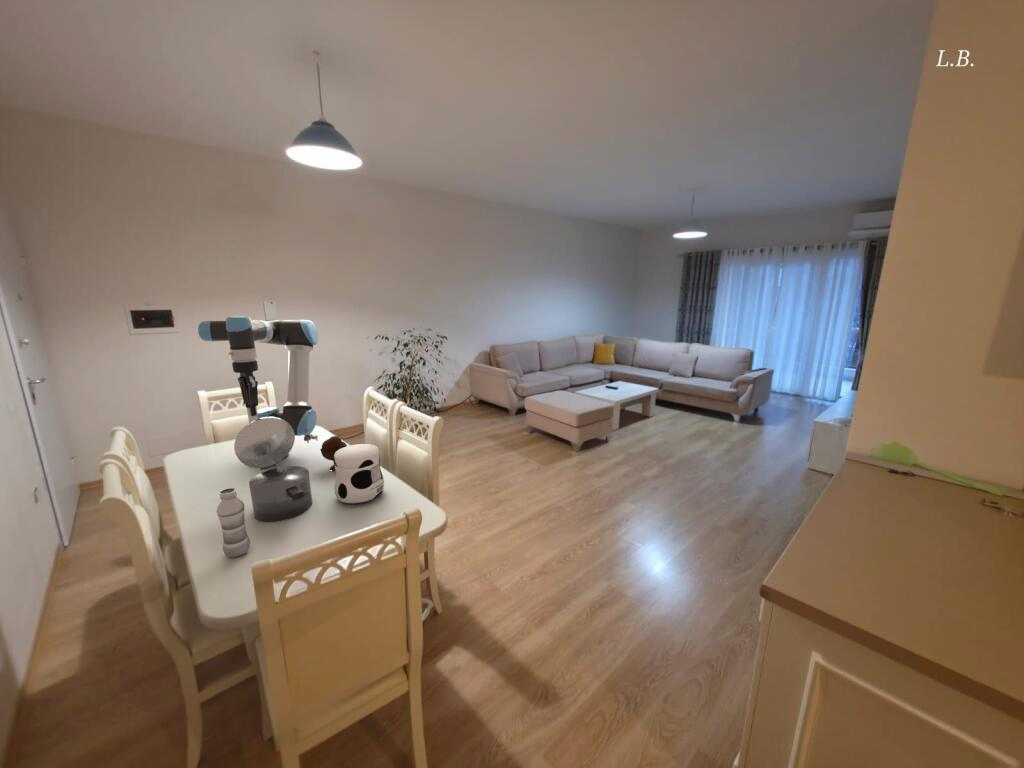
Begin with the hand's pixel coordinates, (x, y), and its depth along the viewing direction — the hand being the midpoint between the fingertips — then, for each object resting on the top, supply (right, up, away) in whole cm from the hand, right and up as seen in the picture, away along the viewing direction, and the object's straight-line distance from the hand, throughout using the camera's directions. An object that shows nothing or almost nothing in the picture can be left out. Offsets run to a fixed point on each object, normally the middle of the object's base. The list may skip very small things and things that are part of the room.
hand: (253, 423), depth 148 cm
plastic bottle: (+15, -35, -31) cm, 49 cm away
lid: (+8, -7, -5) cm, 12 cm away
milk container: (+39, -28, +2) cm, 48 cm away
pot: (+17, -30, -8) cm, 35 cm away
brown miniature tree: (+19, -22, +26) cm, 39 cm away
